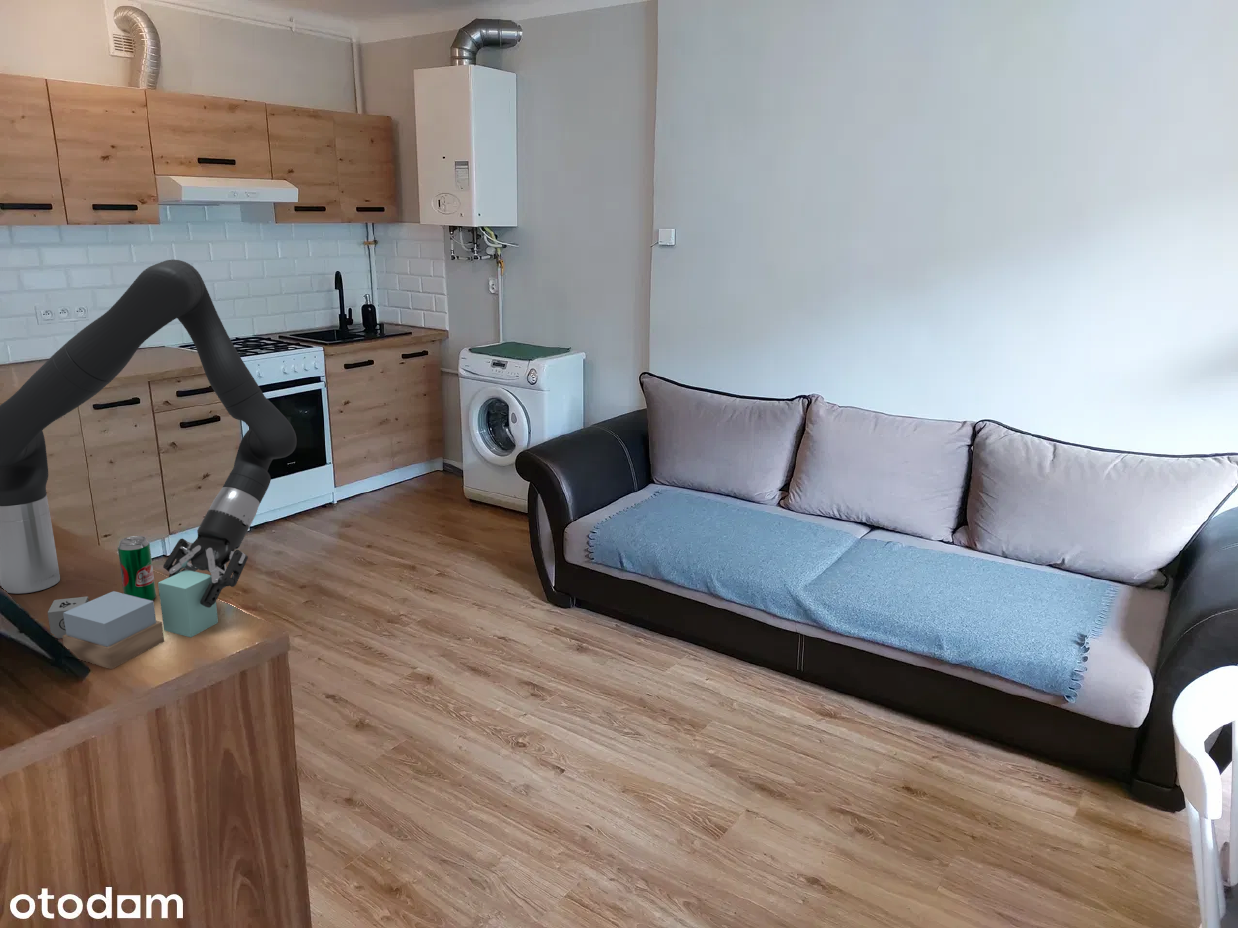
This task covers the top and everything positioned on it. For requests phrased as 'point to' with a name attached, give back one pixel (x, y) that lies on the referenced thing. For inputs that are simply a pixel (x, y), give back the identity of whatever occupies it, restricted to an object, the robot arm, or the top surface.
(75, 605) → the dice cube
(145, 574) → the soda can
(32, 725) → the top surface
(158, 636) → the walnut block
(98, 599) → the slate block
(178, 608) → the teal square block
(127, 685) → the top surface
